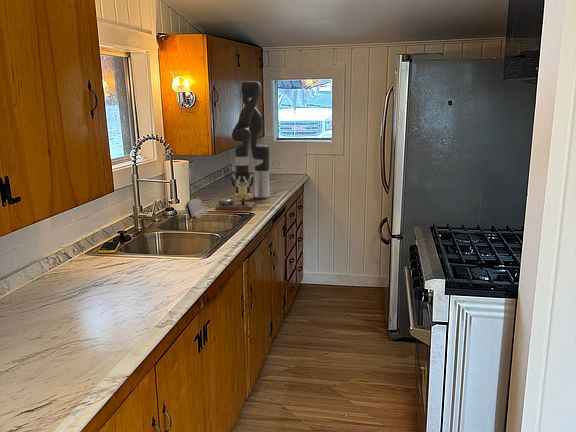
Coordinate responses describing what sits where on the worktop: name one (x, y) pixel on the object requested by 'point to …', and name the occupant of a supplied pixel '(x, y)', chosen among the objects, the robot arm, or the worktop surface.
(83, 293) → the worktop surface
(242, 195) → the planet gear
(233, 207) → the carrier
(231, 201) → the sun gear
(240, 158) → the robot arm
